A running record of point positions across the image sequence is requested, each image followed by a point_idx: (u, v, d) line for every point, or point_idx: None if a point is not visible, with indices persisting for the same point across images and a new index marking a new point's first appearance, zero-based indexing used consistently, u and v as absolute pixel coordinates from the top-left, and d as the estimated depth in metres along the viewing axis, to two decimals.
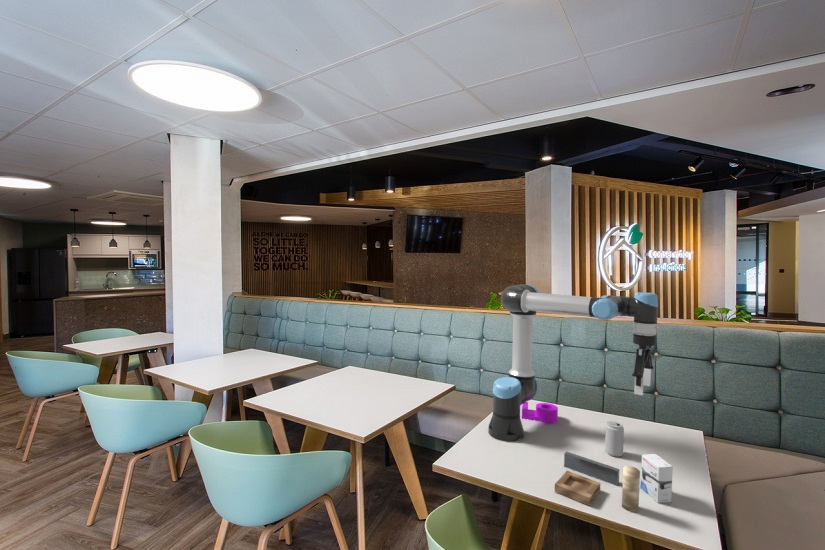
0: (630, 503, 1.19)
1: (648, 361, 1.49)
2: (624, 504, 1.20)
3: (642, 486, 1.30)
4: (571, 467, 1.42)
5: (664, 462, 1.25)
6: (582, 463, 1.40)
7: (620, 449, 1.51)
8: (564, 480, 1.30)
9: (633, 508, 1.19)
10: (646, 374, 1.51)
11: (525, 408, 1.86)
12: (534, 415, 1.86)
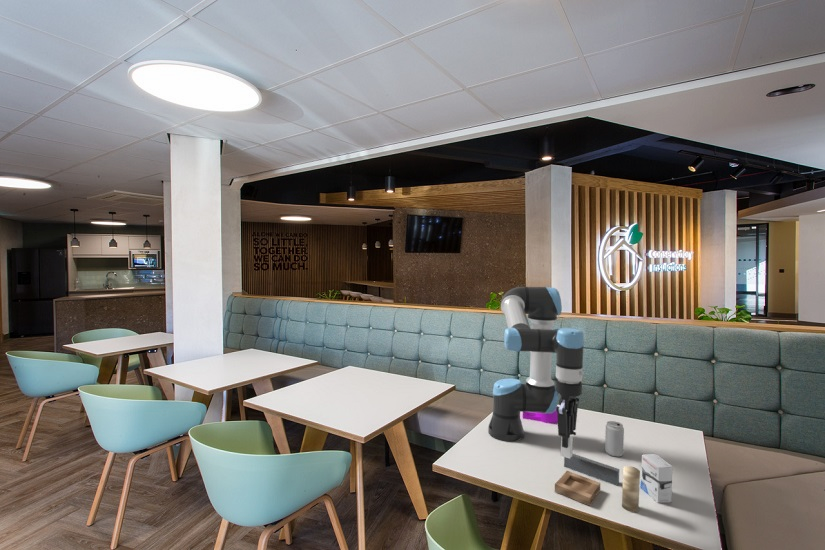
0: (630, 503, 1.19)
1: (571, 419, 1.19)
2: (624, 504, 1.20)
3: (642, 486, 1.30)
4: (571, 467, 1.42)
5: (664, 462, 1.25)
6: (582, 463, 1.40)
7: (620, 449, 1.51)
8: (564, 480, 1.30)
9: (633, 508, 1.19)
10: None
11: None
12: (535, 415, 1.86)
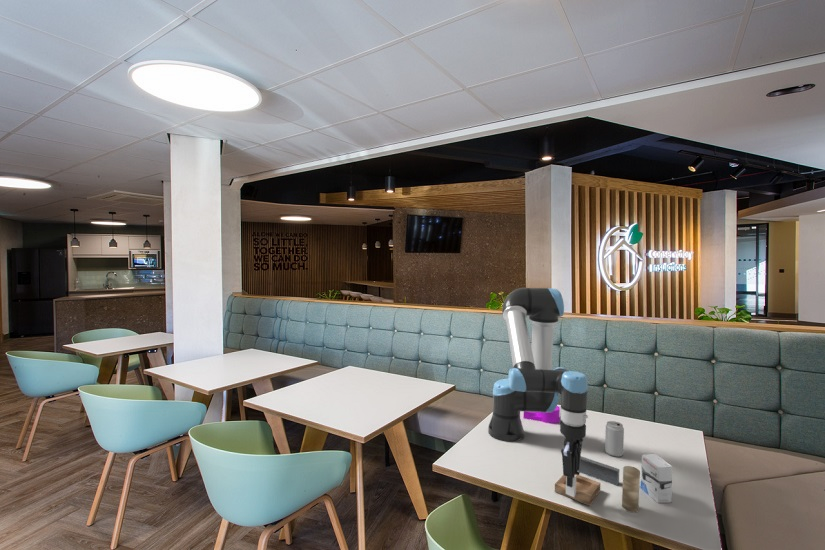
0: (630, 503, 1.19)
1: (575, 459, 1.24)
2: (624, 504, 1.20)
3: (642, 486, 1.30)
4: None
5: (664, 462, 1.25)
6: (582, 463, 1.40)
7: (620, 449, 1.51)
8: (564, 480, 1.30)
9: (633, 508, 1.19)
10: None
11: None
12: (536, 415, 1.86)
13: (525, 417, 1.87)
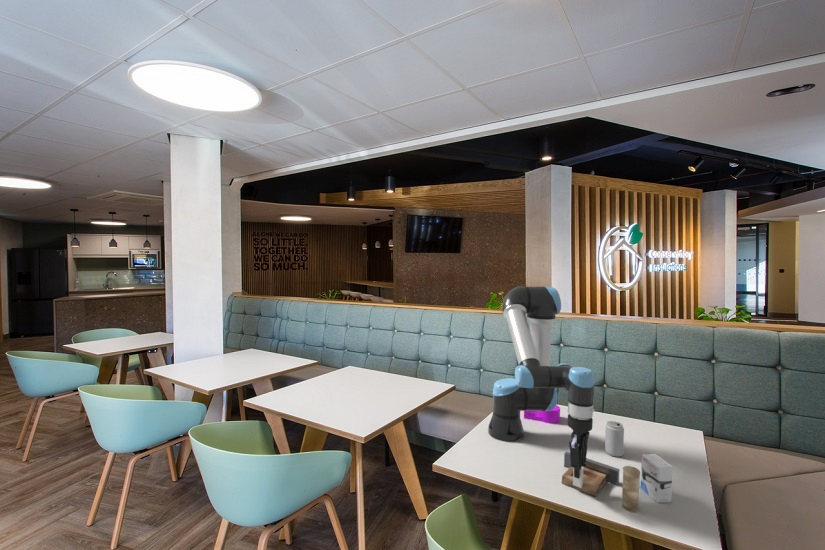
0: (630, 503, 1.19)
1: (582, 451, 1.28)
2: (624, 504, 1.20)
3: (642, 486, 1.30)
4: None
5: (664, 462, 1.25)
6: None
7: (620, 449, 1.51)
8: (571, 472, 1.35)
9: (633, 508, 1.19)
10: None
11: None
12: (536, 415, 1.86)
13: (525, 417, 1.87)
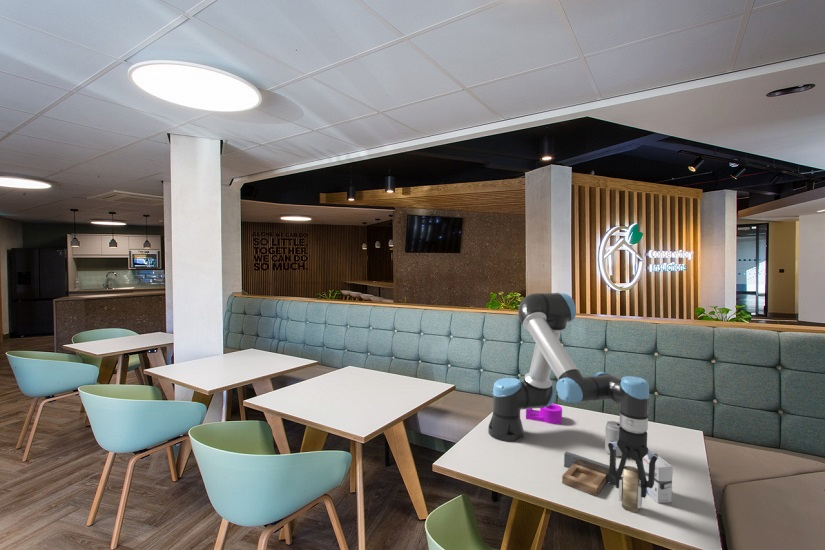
0: (630, 503, 1.19)
1: None
2: (624, 504, 1.20)
3: None
4: None
5: (664, 462, 1.25)
6: (582, 463, 1.40)
7: None
8: (571, 472, 1.35)
9: (633, 508, 1.19)
10: None
11: None
12: (538, 415, 1.86)
13: (527, 417, 1.86)
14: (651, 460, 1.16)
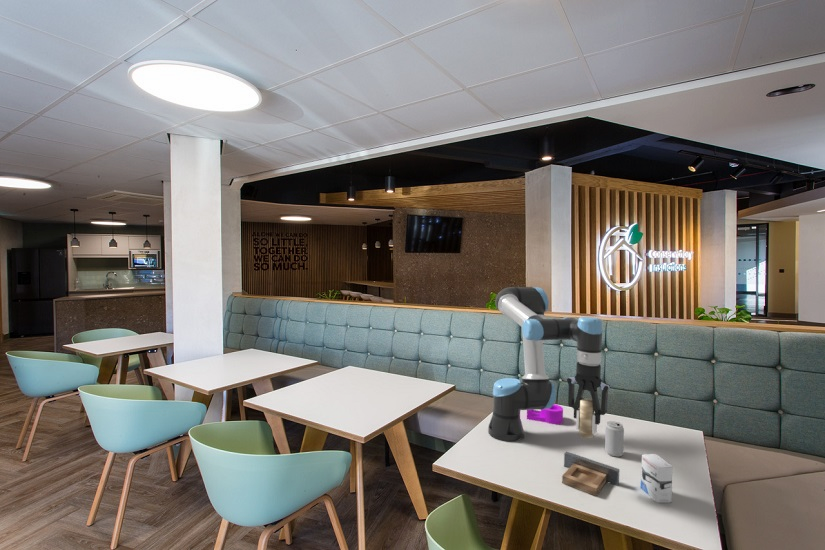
0: (585, 430, 1.31)
1: None
2: (580, 431, 1.33)
3: (642, 486, 1.30)
4: None
5: (664, 462, 1.25)
6: (582, 463, 1.40)
7: (620, 449, 1.51)
8: (571, 472, 1.35)
9: (588, 434, 1.31)
10: None
11: None
12: (539, 416, 1.86)
13: (528, 418, 1.86)
14: (603, 389, 1.28)
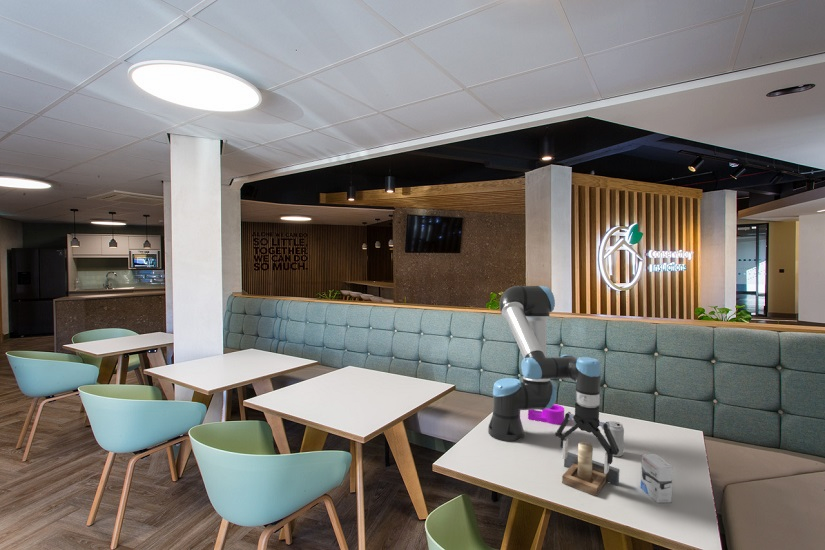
0: (584, 474, 1.32)
1: None
2: (579, 476, 1.33)
3: (642, 486, 1.30)
4: None
5: (664, 462, 1.25)
6: None
7: (620, 449, 1.51)
8: (571, 472, 1.35)
9: (586, 479, 1.32)
10: None
11: None
12: (540, 416, 1.85)
13: (530, 418, 1.86)
14: (604, 428, 1.28)
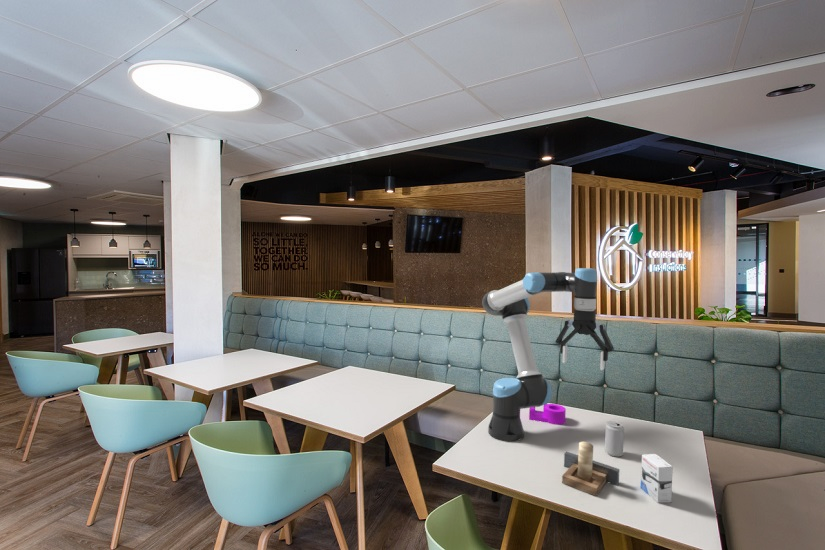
0: (584, 474, 1.32)
1: None
2: (579, 475, 1.33)
3: (642, 486, 1.30)
4: None
5: (664, 462, 1.25)
6: None
7: (620, 449, 1.51)
8: (571, 472, 1.35)
9: (586, 479, 1.32)
10: None
11: (533, 409, 1.85)
12: (542, 416, 1.85)
13: (531, 418, 1.85)
14: (600, 329, 1.41)
